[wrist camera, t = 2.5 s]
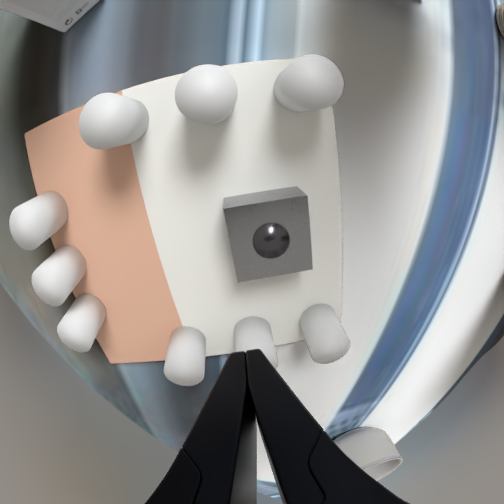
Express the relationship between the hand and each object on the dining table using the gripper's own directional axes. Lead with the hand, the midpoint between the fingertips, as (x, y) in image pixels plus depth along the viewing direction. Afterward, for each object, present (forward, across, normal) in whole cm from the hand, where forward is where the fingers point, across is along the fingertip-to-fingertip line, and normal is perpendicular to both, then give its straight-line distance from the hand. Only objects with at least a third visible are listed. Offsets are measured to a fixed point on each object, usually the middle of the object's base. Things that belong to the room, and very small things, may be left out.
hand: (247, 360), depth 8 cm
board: (+12, +3, 0) cm, 12 cm away
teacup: (+12, -11, +36) cm, 40 cm away
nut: (+11, -2, 0) cm, 11 cm away
